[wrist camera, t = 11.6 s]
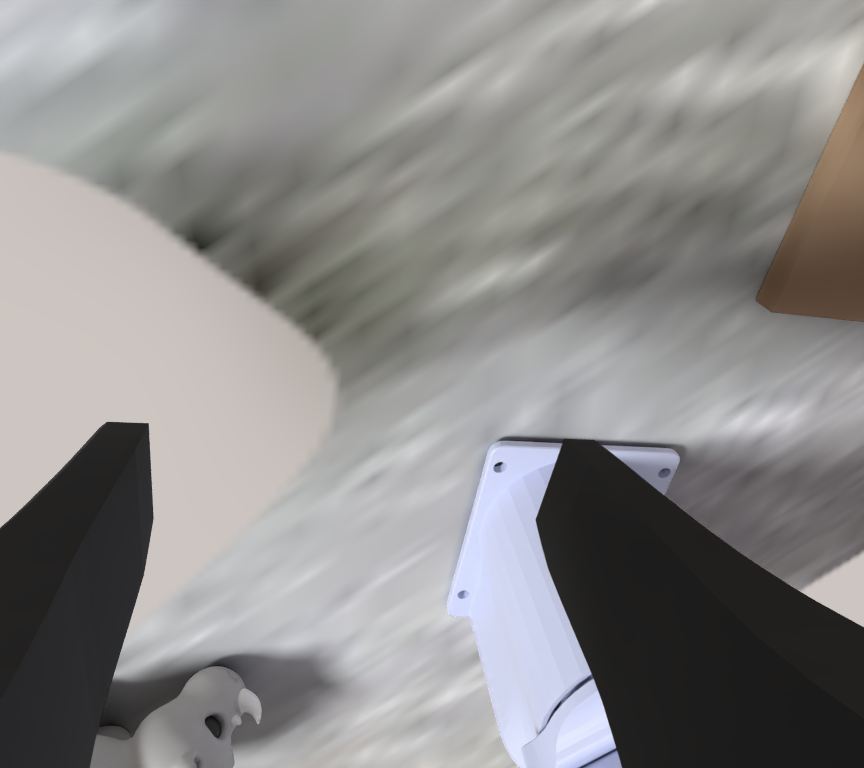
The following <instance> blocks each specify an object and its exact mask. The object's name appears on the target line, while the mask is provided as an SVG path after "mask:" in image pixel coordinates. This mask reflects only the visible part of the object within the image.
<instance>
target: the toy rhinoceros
mask: <svg viewBox="0 0 864 768" xmlns="http://www.w3.org/2000/svg"><path fill="white" fill-rule="evenodd" d="M244 713H249V714H251V715H252V716H253V717H254V719H255V720H256V722H257V724H259V723H260V720H261V713H262V709H261V703H260V700H259V699H258V697H257V696H256V695H255V694H254V693H253V692H251V691H250V690H248V689H247V688H246V687H245V684H244V682H243V680H242V679H241V677H240V676H239V675H238V674H237V673H236V672H234V671H233V670H231V669H229V668H226V667H221V666H213V667H208V668H205V669H203V670H201V671H199V672H197V673H196V674H195V675H193V676H192V677H191V678H190V679H189V680H188V682H187V683H186V685H185V686H184V688H183V690H182V692H181V693H180V695H179V696H178V697H176V698H175V699H174V700H172V701H170V702H169V703H167V704H165V705H163V706H161V707H160V708H158V709H156V710H154V711H153V712H152V713H150V714H149V715H148V716H147V717H146V718H145V719H144V720H143V721H142V722H141V724H140V725H139V727H138V729H137V730H136V732H135V734H134V735H133V737H132V738H131V736H130V734H129V733H128V731H127V730H126V729H124V728H122V727H120V726H102V727H99V728H98V731H97V735H96V740H95V744H94V749H93V754H92V759H91V764H90V768H233V766H234V755H233V751H232V747H231V735H232V732H233V730H234V729H235V728H236V726H238V725H240V724H241V716H242V715H243V714H244Z"/></svg>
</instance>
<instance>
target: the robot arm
mask: <svg viewBox="0 0 864 768" xmlns="http://www.w3.org/2000/svg"><path fill="white" fill-rule="evenodd" d="M498 462H503V464H501V465H500V466H494V465H495V464H496V463H498ZM679 462H680V457H679V455H678V454H677V453H676V451H675V450H673V449H670V448H653V447H631V446H609V445H600V444H599V443H597V442H596V441H595V440H580V439H564V440H563V443H544V442H523V441H498V442H496V443H494V444H493V445H492V446H491V447H490V448H489V450H488V453H487V457H486V461H485V464H484V468H483V472H482V475H481V479H480V483H479V486H478V490H477V494H476V497H475V501H474V505H473V508H472V512H471V516H470V519H469V523H468V527H467V530H466V534H465V538H464V541H463V545H462V549H461V552H460V556H459V560H458V563H457V567H456V571H455V574H454V578H453V582H452V585H451V589H450V593H449V596H448V600H447V604H446V607H447V612H448V614H449V615H450V616H452V617H470V621H471V625H472V628H473V632H474V636H475V640H476V644H477V648H478V652H479V656H480V659H481V663H482V667H483V671H484V675H485V679H486V683H487V687H488V691H489V694H490V698H491V702H492V706H493V710H494V714H495V718H496V722H497V725H498V729H499V733H500V735H501V738H502V741H503V743H504V745H505V748H506V749H507V751H508V753H509V755H510V756H511V758H512V759H513V761H514V762H515V763H516V765H517V766H518V767H519V768H864V627H862V626H860V625H858V624H856V623H855V622H853V621H851V620H849V619H847V618H845V617H844V616H842V615H840V614H838V613H836V612H835V611H833V610H831V609H829V608H828V607H826V606H824V605H822V604H820V603H818V602H816V601H815V600H813V599H812V598H810V597H808V596H807V595H805V594H803V593H801V592H800V591H798V590H796V589H795V588H793V587H792V586H790V585H788V584H787V583H785V582H784V581H782V580H781V579H779V578H777V577H776V576H774V575H773V574H771V573H770V572H768V571H766V570H765V569H763V568H762V567H760V566H758V565H757V564H755V563H754V562H753V561H751V560H750V559H748V558H747V557H745V556H744V555H742V554H741V553H739V552H738V551H737V550H735V549H734V548H732V547H731V546H730V545H728V544H727V543H726V542H724V541H723V540H721V539H720V538H719V537H717V536H716V535H715V534H713V533H712V532H710V531H709V530H708V529H706V528H705V527H704V526H702V525H701V524H700V523H699V522H697V521H696V520H695V519H693V518H692V517H691V516H689V515H688V514H687V513H686V512H684V511H683V510H682V509H680V508H679V507H678V506H677V505H675V504H674V503H673V502H672V501H670V500H669V499H668V498H667V497H665V493H666V491H667V489H668V487H669V485H670V482H671V480H672V478H673V476H674V474H675V472H676V469H677V467H678V465H679ZM662 469H664V470H663V471H661V470H662ZM660 471H661V472H660ZM152 524H153V501H152V482H151V462H150V442H149V424H148V423H123V422H106V423H105V424H104V425H102V426H101V427H100V428H99V429H98V430H97V431H96V432H95V434H94V435H93V436H92V437H91V438H90V439H89V440H88V441H87V442H86V443H85V444H84V446H83V447H82V448H81V449H80V450H79V451H78V452H77V453H76V454H75V455H74V456H73V458H72V459H71V460H70V461H69V462H68V463H67V464H66V465H65V466H64V467H63V468H62V469H61V470H60V471H59V472H58V473H57V474H56V475H55V476H54V477H53V478H52V479H51V480H50V481H49V482H48V484H46V485H45V486H44V487H43V488H42V489H41V490H40V491H39V492H38V493H37V494H36V495H35V496H34V497H33V498H32V499H31V500H30V501H29V502H28V503H27V504H26V505H25V506H24V507H23V508H22V509H21V510H19V511H18V512H17V514H15V515H14V516H13V517H12V518H11V519H10V520H9V521H8V522H6V523H5V524H4V525H3V526H2V527H1V528H0V768H90V764H91V759H92V754H93V749H94V744H95V740H96V735H97V731H98V728H99V724H100V720H101V716H102V712H103V708H104V705H105V701H106V698H107V695H108V692H109V688H110V685H111V682H112V678H113V675H114V672H115V669H116V665H117V662H118V659H119V655H120V652H121V649H122V646H123V642H124V639H125V636H126V633H127V629H128V626H129V623H130V619H131V616H132V613H133V609H134V606H135V603H136V599H137V596H138V593H139V589H140V586H141V582H142V579H143V576H144V570H145V565H146V559H147V554H148V548H149V542H150V536H151V530H152ZM460 591H461V592H460Z"/></svg>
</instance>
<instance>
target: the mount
mask: <svg viewBox="0 0 864 768" xmlns="http://www.w3.org/2000/svg"><path fill="white" fill-rule="evenodd" d="M755 300H756V301H757V302H759V303H760V304H761V305H763V306H764V307H765V308H767V309H768V310H769V311H771V312H775V313H785V314H794V315H804V316H813V317H823V318H833V319H842V320H852V321H861V322H864V64H863V67H862V69H861V71H860V73H859V75H858V77H857V80H856V82H855V84H854V86H853V88H852V91H851V93H850V95H849V97H848V99H847V101H846V104H845V106H844V108H843V110H842V112H841V114H840V117H839V119H838V121H837V123H836V125H835V127H834V130H833V132H832V134H831V136H830V138H829V141H828V143H827V145H826V147H825V149H824V151H823V154H822V156H821V158H820V160H819V162H818V164H817V167H816V169H815V171H814V173H813V175H812V177H811V180H810V182H809V184H808V186H807V188H806V191H805V193H804V195H803V197H802V199H801V201H800V204H799V206H798V208H797V210H796V212H795V214H794V217H793V219H792V221H791V223H790V225H789V227H788V230H787V232H786V234H785V236H784V238H783V241H782V243H781V245H780V247H779V249H778V251H777V254H776V256H775V258H774V260H773V262H772V264H771V267H770V269H769V271H768V273H767V275H766V277H765V280H764V282H763V284H762V286H761V288H760V291H759V293H758V295H757V297H756V299H755Z"/></svg>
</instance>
